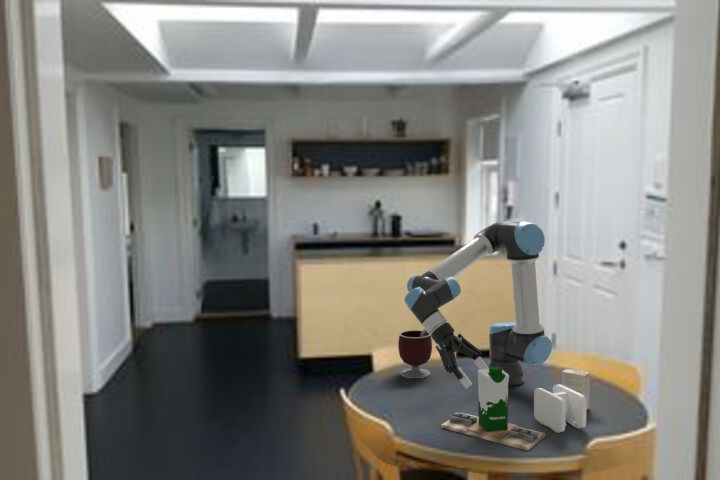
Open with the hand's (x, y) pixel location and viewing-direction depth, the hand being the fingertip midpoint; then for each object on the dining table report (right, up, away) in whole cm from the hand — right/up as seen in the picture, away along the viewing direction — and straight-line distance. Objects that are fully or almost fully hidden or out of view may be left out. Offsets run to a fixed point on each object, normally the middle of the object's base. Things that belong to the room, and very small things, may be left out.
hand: (479, 380), depth 202 cm
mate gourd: (-15, -11, +61) cm, 63 cm away
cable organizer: (+27, -16, +4) cm, 31 cm away
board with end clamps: (+4, -16, -1) cm, 17 cm away
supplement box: (+37, -14, +19) cm, 44 cm away
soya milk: (+4, -15, 0) cm, 15 cm away
